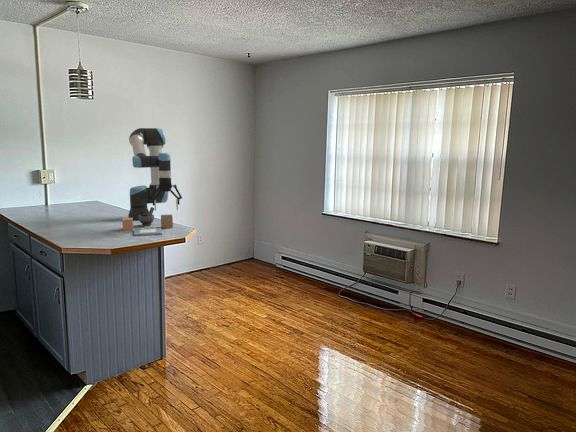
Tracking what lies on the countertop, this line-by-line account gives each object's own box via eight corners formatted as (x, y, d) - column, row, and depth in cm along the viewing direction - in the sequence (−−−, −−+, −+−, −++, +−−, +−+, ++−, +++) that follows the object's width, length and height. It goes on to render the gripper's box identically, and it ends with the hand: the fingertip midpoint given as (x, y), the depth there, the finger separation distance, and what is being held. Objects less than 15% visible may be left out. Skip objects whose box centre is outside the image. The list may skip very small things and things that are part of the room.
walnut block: (161, 226, 291) (160, 214, 290) (172, 226, 293) (171, 214, 292) (161, 228, 285) (161, 216, 283) (172, 228, 287) (172, 216, 286)
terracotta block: (123, 228, 284) (122, 218, 282) (133, 228, 286) (132, 217, 284) (122, 230, 278) (122, 219, 277) (132, 230, 280) (132, 219, 279)
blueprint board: (134, 230, 277) (134, 228, 277) (161, 229, 282) (160, 227, 282) (134, 236, 262) (133, 234, 262) (162, 234, 267) (162, 232, 267)
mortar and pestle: (144, 227, 287) (143, 209, 285) (136, 225, 293) (135, 207, 291) (159, 225, 296) (158, 207, 294) (151, 223, 302) (150, 206, 300)
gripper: (144, 178, 276) (146, 211, 279) (185, 177, 284) (186, 210, 287) (144, 177, 283) (146, 210, 287) (184, 176, 291) (185, 208, 294)
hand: (166, 210), depth 287 cm, fingers open, 13 cm apart
